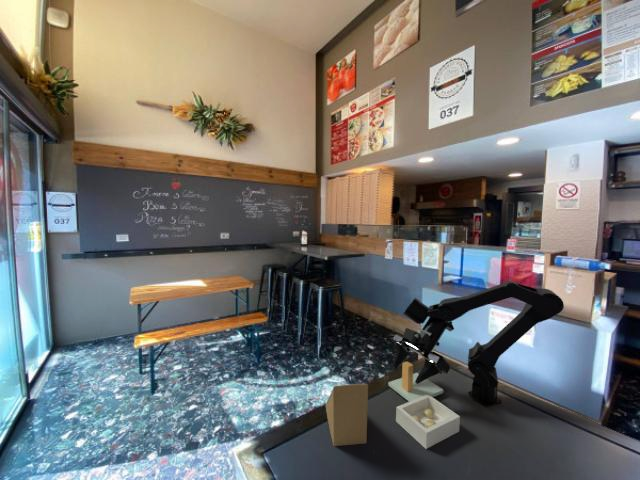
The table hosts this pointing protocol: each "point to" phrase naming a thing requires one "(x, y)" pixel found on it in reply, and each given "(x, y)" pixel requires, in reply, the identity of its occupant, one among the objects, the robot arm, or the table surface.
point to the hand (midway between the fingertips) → (404, 375)
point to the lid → (413, 385)
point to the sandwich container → (348, 414)
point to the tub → (427, 420)
